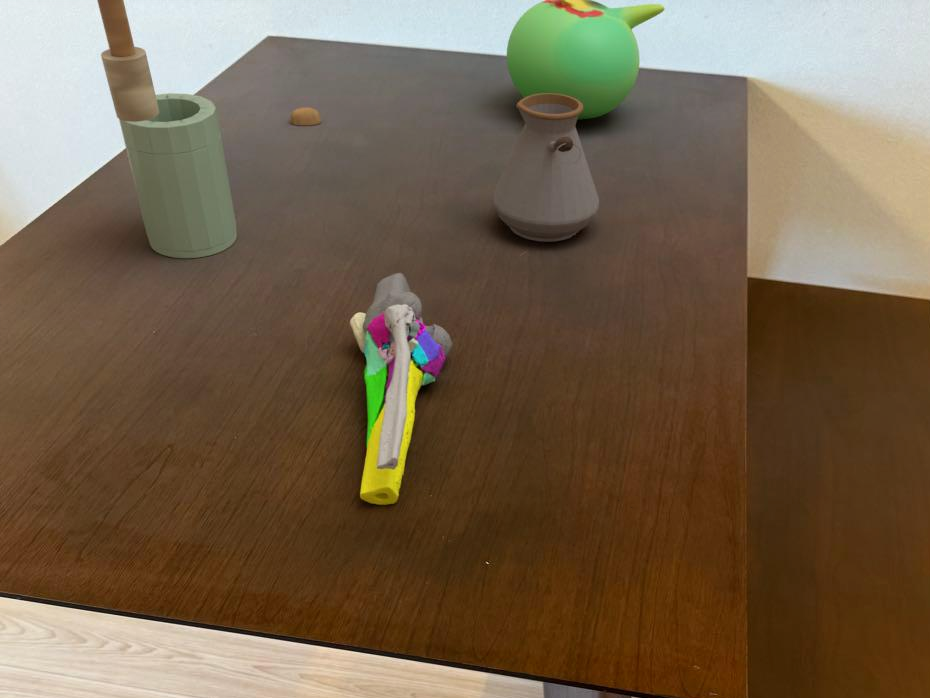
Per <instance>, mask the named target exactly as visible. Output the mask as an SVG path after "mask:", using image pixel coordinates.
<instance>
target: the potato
mask: <svg viewBox="0 0 930 698" xmlns="http://www.w3.org/2000/svg"><path fill="white" fill-rule="evenodd" d="M289 119H290V123H291V124H292V125H294V126H315V125H319V124H321V123H322V117H321V114H320V112H319V111H318V110H316V109H315V108H312V107H307V106H304V107H298V108H295V109H294V110H292V112H291V114H290V117H289Z"/></svg>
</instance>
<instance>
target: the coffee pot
mask: <svg viewBox="0 0 930 698" xmlns="http://www.w3.org/2000/svg"><path fill="white" fill-rule="evenodd" d="M515 107H516V109H518V111H519V114H520V116H521V117H522V119H523V121H524V126H523V128H522V130H521V132H520V134H519V136H518V139H517V141H516V143H515V144H514V145H515V146H514V148H513V149H512V152H511V154H510V156H509V158H508V160H507V163H506V165H505V167H504V169H503V172H502V173H501V176H500V178H499V180H498V182H497V185H496V186H495V188H494V191H493V195H492V204H493V207H494V209H495V212H496V214H497V217H498V218H499V219H500V220H501V221H502V222H503V223H504V224H505V225H506V226H507V227H509V228H510V230H511V231H512V232H513V233H514V234H516V235H517V236H519V237H521V238H523V239H526V240H530V241H535V242H544V243H545V242H548V243H549V242H550V243H551V242H558V241H565V240H568V239H570V238H573V237H574V236H576V235H577V234H578V233H579V232H580V231H581V230H583V229H584V228H586V226H588V225H589V224H590V223H592V221H593V219H594V217H595V216H596V214H597V213H598V211H599V208H600V199H599V195H598V191H597V189H596V186H595V183H594V179H593V176H592V174H591V170H590V168H589V165H588V162H587V158H586V155H585V152H584V148H583V146H582V143H581V140H580V136H579V134H578V131H577V128H576V124H577V121H578V119H577V118H578V115H580V114H581V113H582V111H583V104H582V103H581V102H580V101H579V100H577V99H575V98H573V97H570V96H567V95H562V94H553V93H541V94H534V95H530V96H527V97H525V98H524V97H522V98H521V99H520V100H518V102H517V103H516V105H515ZM576 233H577V234H576ZM573 235H574V236H573ZM572 236H573V237H572Z"/></svg>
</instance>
